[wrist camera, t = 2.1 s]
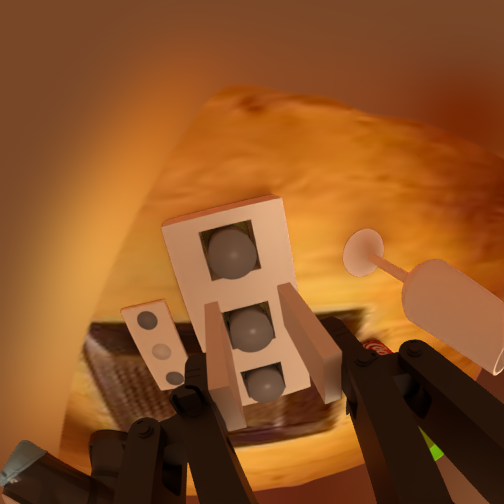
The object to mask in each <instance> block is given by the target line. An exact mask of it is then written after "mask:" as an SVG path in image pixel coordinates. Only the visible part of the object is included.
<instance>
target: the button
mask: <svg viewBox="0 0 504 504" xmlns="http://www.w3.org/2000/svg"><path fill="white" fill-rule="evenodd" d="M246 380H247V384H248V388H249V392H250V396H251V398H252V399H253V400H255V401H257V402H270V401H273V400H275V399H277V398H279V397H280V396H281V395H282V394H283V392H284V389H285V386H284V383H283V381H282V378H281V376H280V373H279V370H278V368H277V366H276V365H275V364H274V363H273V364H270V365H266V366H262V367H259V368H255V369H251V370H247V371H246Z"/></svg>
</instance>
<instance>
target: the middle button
mask: <svg viewBox="0 0 504 504" xmlns="http://www.w3.org/2000/svg"><path fill="white" fill-rule="evenodd" d="M229 326H230V331H231V337H232V341H233V344H234V345H235V347H236V348H237V349H239V350H241V351H243V352H248V353H252V352H258V351H260V350H262V349H264V348H266V347H267V346H268V345H269V344H270V342H271V341H272V338H273V329H272V327H271V324H270V322H269V320H268V318H267V315H266V313H265V311H264V309H263V308H262V307H261V306H259V305H258V304H254V305H250V306H246V307H242V308H238V309H234V310H232V311H231V313H230V315H229Z"/></svg>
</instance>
